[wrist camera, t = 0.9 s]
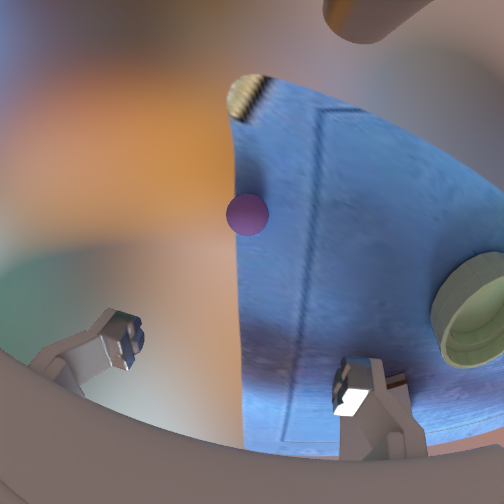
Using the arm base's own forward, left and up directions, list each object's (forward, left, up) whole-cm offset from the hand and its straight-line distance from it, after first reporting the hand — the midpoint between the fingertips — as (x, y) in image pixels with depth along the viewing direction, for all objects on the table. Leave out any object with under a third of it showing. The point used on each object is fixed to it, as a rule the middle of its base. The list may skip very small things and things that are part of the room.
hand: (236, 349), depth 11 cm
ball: (+1, -3, -16) cm, 16 cm away
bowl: (+7, +25, -17) cm, 31 cm away
